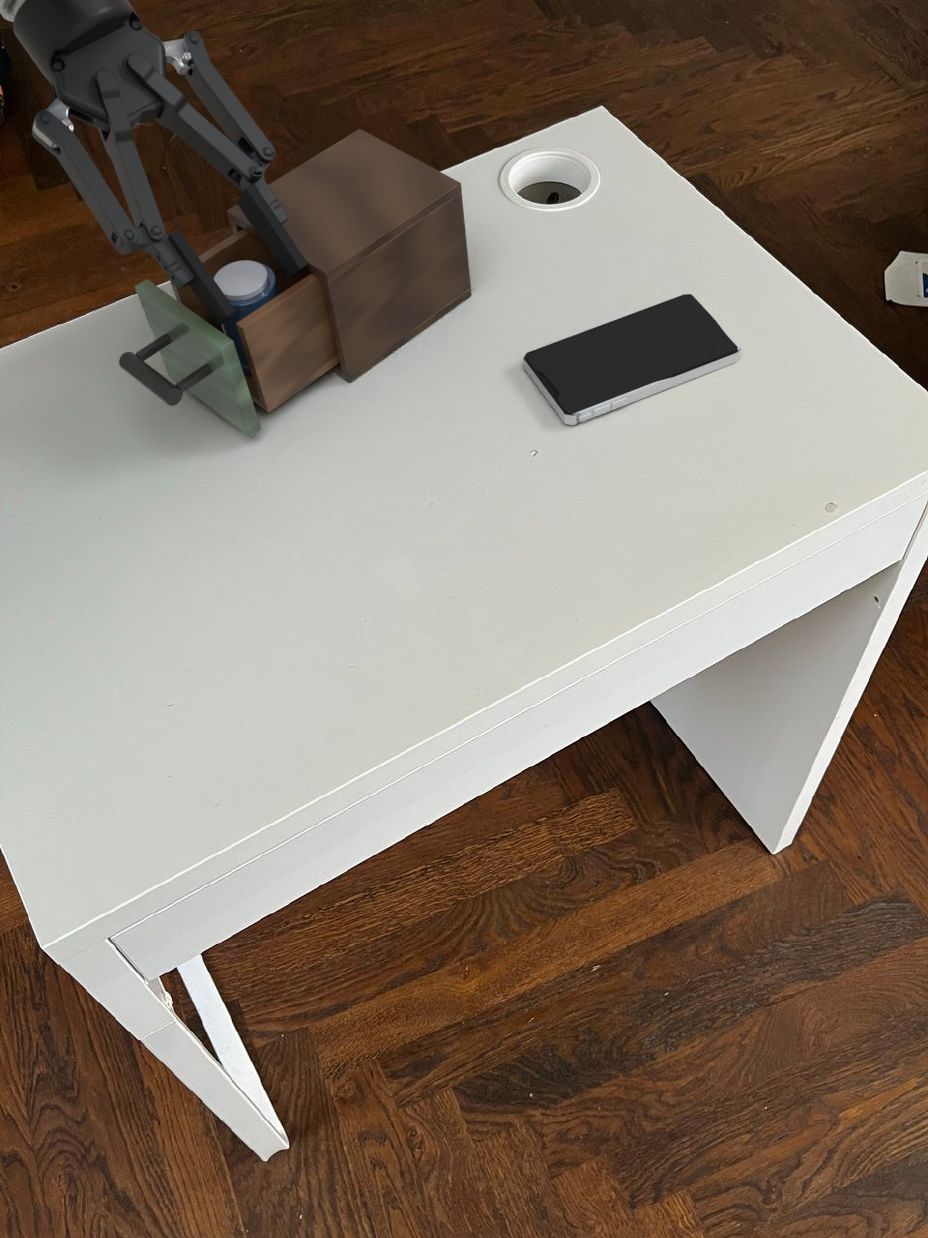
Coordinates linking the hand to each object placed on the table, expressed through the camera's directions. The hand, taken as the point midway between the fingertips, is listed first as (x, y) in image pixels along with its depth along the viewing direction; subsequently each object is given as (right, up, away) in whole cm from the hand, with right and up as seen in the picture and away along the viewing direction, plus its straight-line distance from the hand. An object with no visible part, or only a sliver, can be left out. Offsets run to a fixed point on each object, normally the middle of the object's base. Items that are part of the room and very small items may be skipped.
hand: (263, 294), depth 82 cm
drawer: (-2, -4, +8) cm, 9 cm away
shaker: (-1, -3, +8) cm, 8 cm away
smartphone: (+27, -4, +7) cm, 28 cm away
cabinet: (+6, +3, +13) cm, 15 cm away
